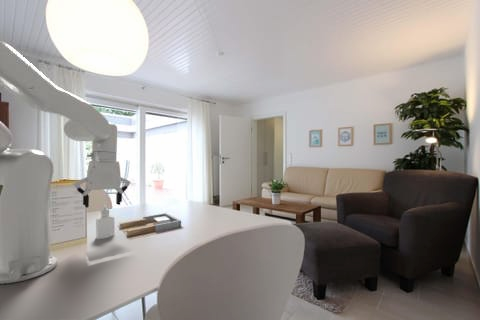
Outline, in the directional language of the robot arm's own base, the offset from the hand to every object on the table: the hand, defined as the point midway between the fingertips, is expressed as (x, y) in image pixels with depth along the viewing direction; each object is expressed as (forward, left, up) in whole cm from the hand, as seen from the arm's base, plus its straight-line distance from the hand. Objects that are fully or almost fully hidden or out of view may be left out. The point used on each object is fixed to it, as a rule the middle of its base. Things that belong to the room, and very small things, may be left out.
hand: (103, 205), depth 80 cm
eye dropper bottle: (+1, -1, -13) cm, 13 cm away
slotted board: (+2, -17, -12) cm, 21 cm away
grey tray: (+2, -21, -11) cm, 24 cm away
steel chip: (+1, -21, -11) cm, 24 cm away
